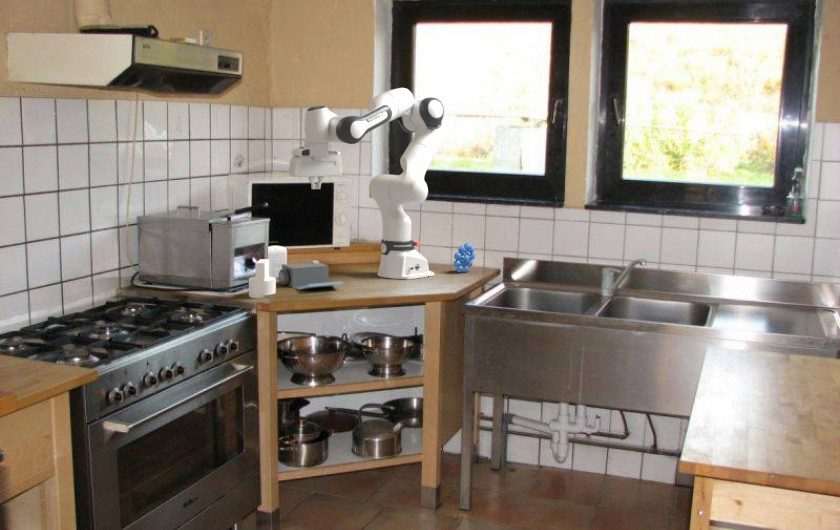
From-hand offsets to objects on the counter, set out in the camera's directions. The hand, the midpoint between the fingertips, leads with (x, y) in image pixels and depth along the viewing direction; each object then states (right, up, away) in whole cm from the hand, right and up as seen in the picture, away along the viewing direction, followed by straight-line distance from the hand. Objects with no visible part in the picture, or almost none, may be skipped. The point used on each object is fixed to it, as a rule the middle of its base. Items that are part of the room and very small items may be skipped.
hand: (315, 189), depth 339 cm
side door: (0, -35, -12) cm, 37 cm away
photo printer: (-17, -33, +7) cm, 38 cm away
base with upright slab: (-15, -39, -25) cm, 48 cm away
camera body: (-4, -36, -8) cm, 37 cm away
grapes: (+55, -31, +33) cm, 71 cm away
